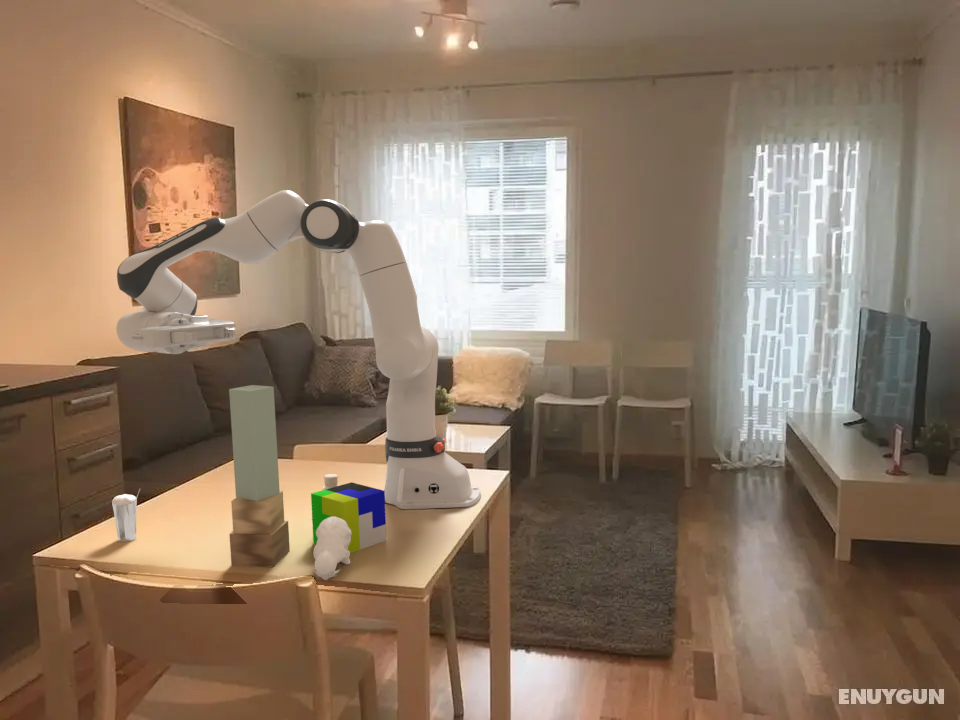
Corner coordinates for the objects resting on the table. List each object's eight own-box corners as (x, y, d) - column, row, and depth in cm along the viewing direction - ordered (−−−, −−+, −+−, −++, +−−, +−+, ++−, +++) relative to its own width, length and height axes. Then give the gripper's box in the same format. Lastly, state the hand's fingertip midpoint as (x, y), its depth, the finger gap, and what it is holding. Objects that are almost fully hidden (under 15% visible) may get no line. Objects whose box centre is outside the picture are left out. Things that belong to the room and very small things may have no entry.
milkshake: (145, 539, 165) (141, 491, 164) (116, 544, 162) (112, 495, 161) (142, 533, 169) (138, 485, 168) (113, 538, 166) (109, 489, 165)
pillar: (259, 489, 156) (252, 384, 153) (279, 493, 153) (273, 386, 150) (236, 497, 151) (229, 389, 149) (256, 501, 148) (250, 391, 146)
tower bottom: (289, 551, 157) (288, 520, 156) (273, 567, 149) (271, 535, 148) (249, 550, 158) (247, 520, 157) (231, 566, 150) (229, 534, 149)
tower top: (284, 521, 156) (282, 490, 155) (270, 534, 149) (268, 501, 148) (248, 521, 157) (247, 490, 156) (233, 533, 150) (231, 501, 149)
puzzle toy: (386, 540, 162) (384, 490, 161) (346, 554, 154) (343, 502, 153) (353, 530, 168) (351, 482, 167) (313, 543, 161) (311, 493, 160)
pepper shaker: (328, 522, 174) (326, 471, 172) (351, 524, 172) (349, 472, 170) (314, 530, 169) (312, 477, 167) (338, 532, 167) (335, 479, 165)
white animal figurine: (351, 512, 151) (340, 541, 139) (354, 555, 153) (343, 587, 141) (317, 513, 151) (302, 541, 139) (320, 556, 153) (306, 588, 141)
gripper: (125, 321, 167) (167, 323, 159) (210, 315, 184) (251, 316, 176) (128, 353, 168) (169, 356, 160) (212, 343, 184) (253, 345, 176)
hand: (213, 335), depth 168 cm, fingers open, 8 cm apart
